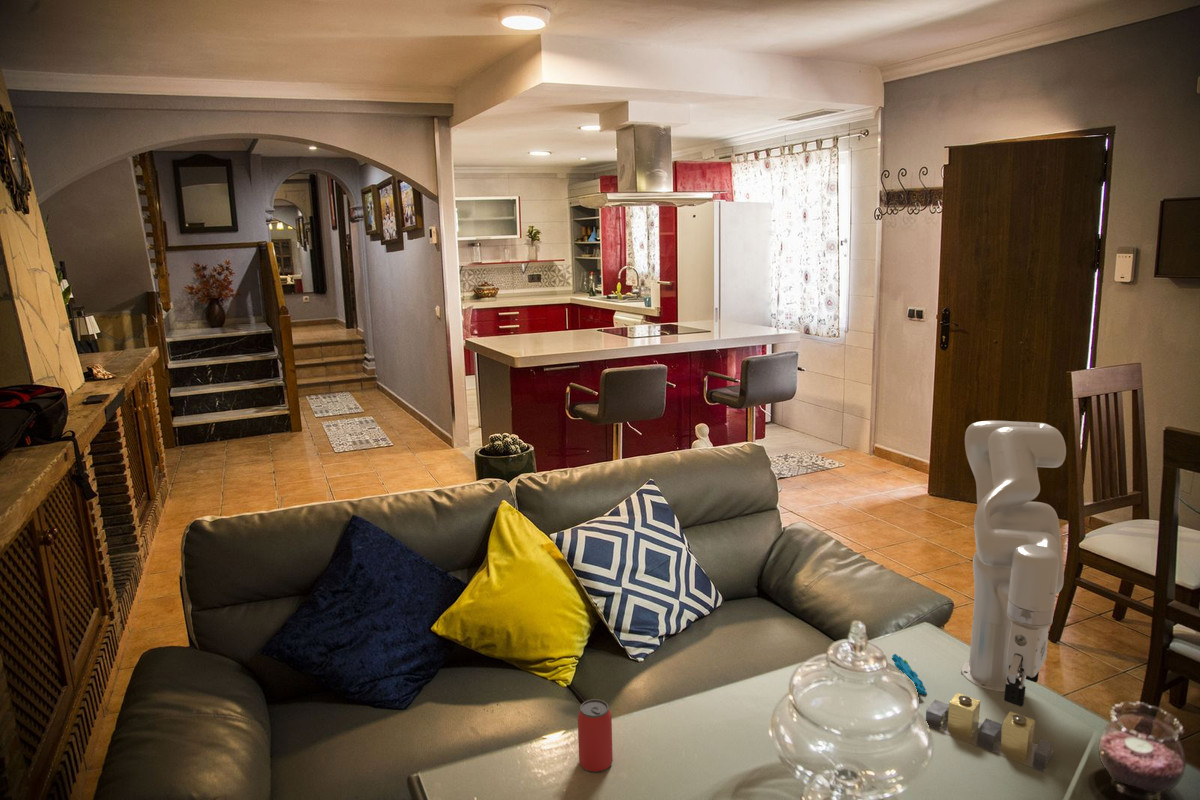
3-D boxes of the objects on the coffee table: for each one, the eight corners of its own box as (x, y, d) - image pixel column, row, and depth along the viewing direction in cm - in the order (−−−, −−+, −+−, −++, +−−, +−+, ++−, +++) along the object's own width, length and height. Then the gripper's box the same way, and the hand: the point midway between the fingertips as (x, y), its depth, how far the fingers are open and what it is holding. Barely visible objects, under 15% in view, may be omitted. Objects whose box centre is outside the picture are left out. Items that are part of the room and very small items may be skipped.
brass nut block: (1032, 747, 152) (1035, 717, 150) (1026, 759, 148) (1029, 728, 147) (1007, 738, 155) (1010, 708, 153) (1000, 749, 151) (1003, 719, 150)
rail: (936, 711, 166) (937, 696, 165) (1053, 755, 151) (1055, 739, 150) (922, 729, 160) (923, 713, 159) (1042, 776, 145) (1044, 760, 144)
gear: (932, 699, 167) (898, 662, 168) (910, 715, 169) (877, 679, 170) (925, 677, 178) (894, 643, 179) (905, 693, 179) (874, 659, 181)
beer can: (588, 778, 148) (586, 721, 145) (573, 758, 154) (571, 703, 151) (618, 766, 151) (617, 711, 148) (603, 747, 157) (601, 693, 154)
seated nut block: (955, 718, 161) (957, 689, 160) (978, 727, 158) (980, 698, 157) (947, 729, 158) (949, 699, 157) (970, 738, 155) (973, 708, 154)
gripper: (1039, 637, 137) (1030, 721, 141) (1064, 598, 149) (1054, 677, 154) (993, 623, 142) (985, 705, 146) (1021, 587, 154) (1013, 663, 158)
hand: (1021, 691), depth 150 cm, fingers open, 9 cm apart
